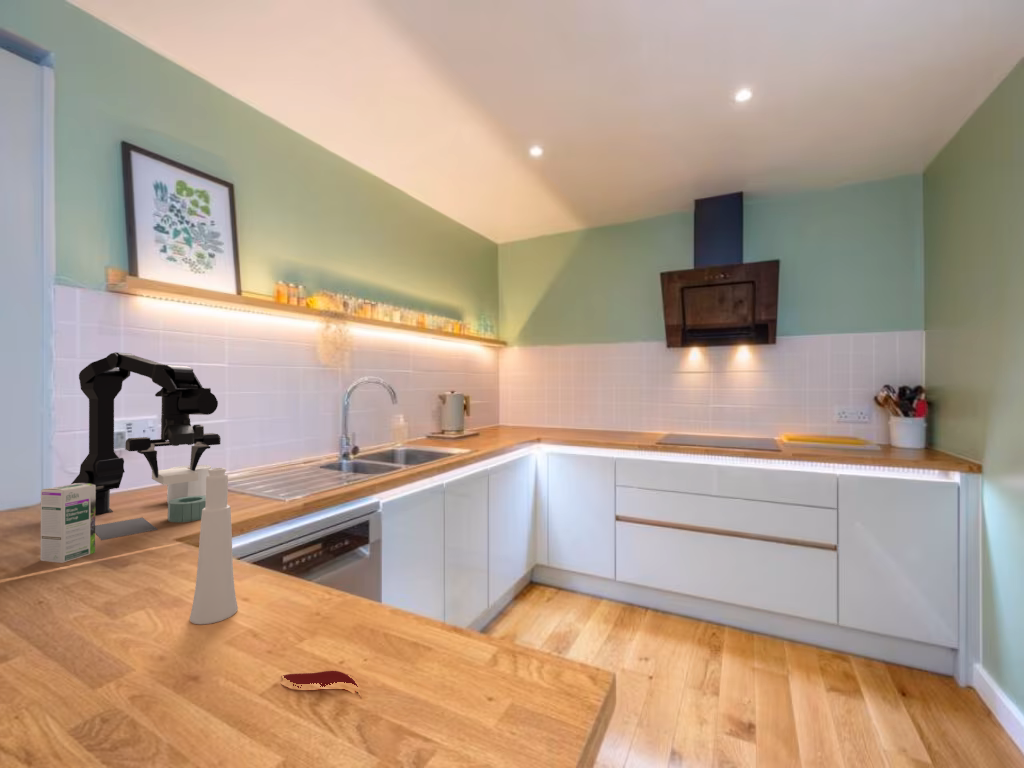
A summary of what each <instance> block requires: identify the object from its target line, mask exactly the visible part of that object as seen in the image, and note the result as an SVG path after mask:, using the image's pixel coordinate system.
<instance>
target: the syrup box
mask: <svg viewBox="0 0 1024 768" xmlns="http://www.w3.org/2000/svg"><path fill="white" fill-rule="evenodd" d="M95 500H96V485H95V484H89V483H74V484H65V485H61V486H60V485H59V486H55V487H48V488H43V489H41V490H40V557H39V558H40V561H41V562H50V563H60V564H63V563H66V562H69V561H73V560H77V559H79V558H82V557H86V556H90V555H92V554H95V553H96V533H95V525H96V515H95Z"/></svg>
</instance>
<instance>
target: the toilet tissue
mask: <svg viewBox="0 0 1024 768" xmlns="http://www.w3.org/2000/svg"><path fill="white" fill-rule="evenodd" d="M184 467H185V468H188V469H190V465H180V466H173V467H169V468H168V469H175V468H184ZM209 469H212V466H211V465H210V464H209V465H208V464H197V466H196V469H195V472H198V481H191V482H183V483H175V484H167V488H166V489H167V490H166V491H167V493H166V503H167V504H168V502H169V501H170V500H173V499H177V498H181V497H188V496H206V477H207V476H208V475H209V473H208V470H209Z"/></svg>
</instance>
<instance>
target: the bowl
mask: <svg viewBox="0 0 1024 768" xmlns="http://www.w3.org/2000/svg"><path fill="white" fill-rule="evenodd" d="M205 506H206V496H188V497H181V498H177V499H173V500H170V501H169V502H168V503H167V521H168V522H170V523H188V522H189V523H190V522H194V521H201V516H202V509H203V508H205Z"/></svg>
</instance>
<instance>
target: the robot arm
mask: <svg viewBox="0 0 1024 768" xmlns="http://www.w3.org/2000/svg"><path fill="white" fill-rule="evenodd" d="M131 373H135V374H137V375H140V376H144V377H147V378H149V379H151V380H152V382H153V383H154V384H156V385H158V386H159V387H160V388H161V389H160V390H158V391H157V392H156V393H155V394H154V397H161V415H160V416H161V417H160V422H161V423H160V424H161V425H160V426H161V427H160V438H159V439H158V438H157V439H155V438H154V439H151V438H150V437H148V436H143V437H129V438H127V439H126V440H125V443H124V444H125V445H124V446H125V447H124V449H125V450H126V451H128V452H137V453H139V454H141V455H143V456H144V458H145V459H146V460H147V462H148V464H149V466H150V469H151V472H152V471H153V473H154V476H155V478H158V470H159V466H158V450H156V447H169V446H173V447H177V446H178V447H179V446H181V445H183V446H184V445H188V446H191V451H190V462H189V463H190V470H193V471H195V469H196V466H197V465H199V464H198V463H199V462H200V458H201V457H202V455H203V453H204V452H205V451H206V450H208V449H211V446H216V445H221V436H220V434H218V433H213V432H211V433H210V432H209V433H207V432H206V433H205V430H204V429H205V428H204V427H205V426H204V425H203V424H193V425H191V417H190V415H198V416H199V415H201V416H202V415H204V416H209V415H213V413H215V411H216V410H217V409H218V406H219V401H218V399H217V397H216V396H215V394H214V393H212V391H211V390H212V389H211V387H203V385H202V384H201V382H200V380H199V379H198V377H197V375H196V374H195V372H194V368H192V367H190V366H186V365H174V364H165V363H164V364H163V363H159V362H157V361H154V360H150V359H147V358H143V357H141V356H137V355H135V354H133V353H127V352H117V351H116V352H112V353H109V354H108V355H107V356H106V357H104V358H103V357H102V358H100V359H98V360H95V361H92V362H91V363H89V364H88V365H87V366H85V367H84V368H83V369H82V370H81V371H80V372H79V374H78V379H79V384H80V385H79V386H80V391H82V393H83V394H84V395H85V397H86V398H87V399H88V454H87V455H86V456H85V458H84V459H83V461H82V462H81V464H80V467H79V474H78V475H77V476H76V477H75V478H74V480H73V481H72V482H71V484H74V483H89V484H95V485H96V500H95V516H98V515H103V514H110V513H113V512H114V511H113V509H112V508H110V507H111V506H110V503H111V502H110V500H111V499H110V496H111V490H115V489H120V487H121V486H120V485H121V482H122V479H123V477H124V473H125V468H124V466H125V465H124V464H125V459H124V457H119V456H118V455H117V453H116V452H115V398H116V397H117V396H118V395H119V394H120V392H121V391H122V389H123V382H124V381H126V380H127V379H128V378H129V377H130V376H131Z"/></svg>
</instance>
